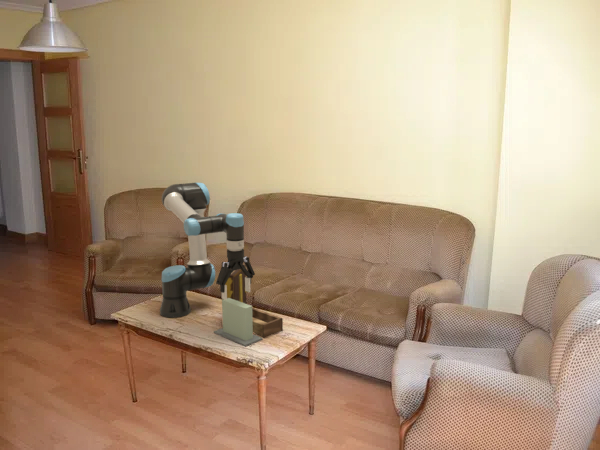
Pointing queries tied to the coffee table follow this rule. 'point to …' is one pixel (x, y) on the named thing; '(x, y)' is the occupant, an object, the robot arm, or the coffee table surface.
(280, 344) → the coffee table surface
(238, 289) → the book
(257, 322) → the brown wooden bar
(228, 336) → the mat
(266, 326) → the frame
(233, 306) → the pale green slab
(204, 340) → the coffee table surface
